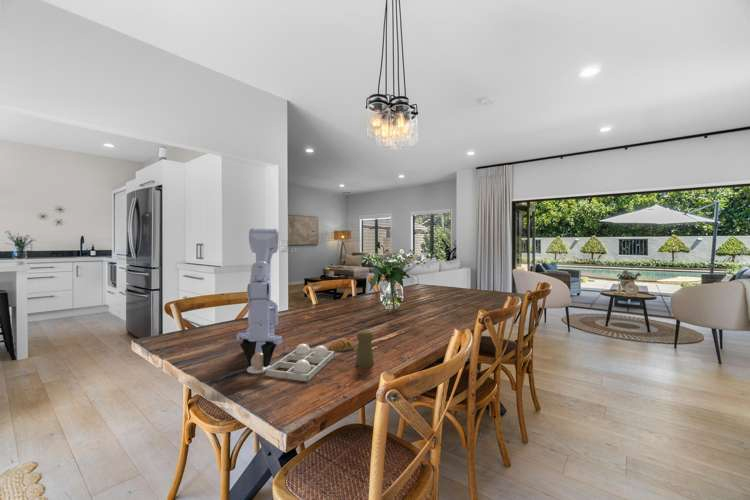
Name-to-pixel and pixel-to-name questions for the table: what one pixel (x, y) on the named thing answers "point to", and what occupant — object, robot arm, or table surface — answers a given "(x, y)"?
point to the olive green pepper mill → (364, 349)
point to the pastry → (342, 345)
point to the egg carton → (292, 356)
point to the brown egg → (257, 360)
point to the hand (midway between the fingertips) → (259, 365)
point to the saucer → (254, 370)
